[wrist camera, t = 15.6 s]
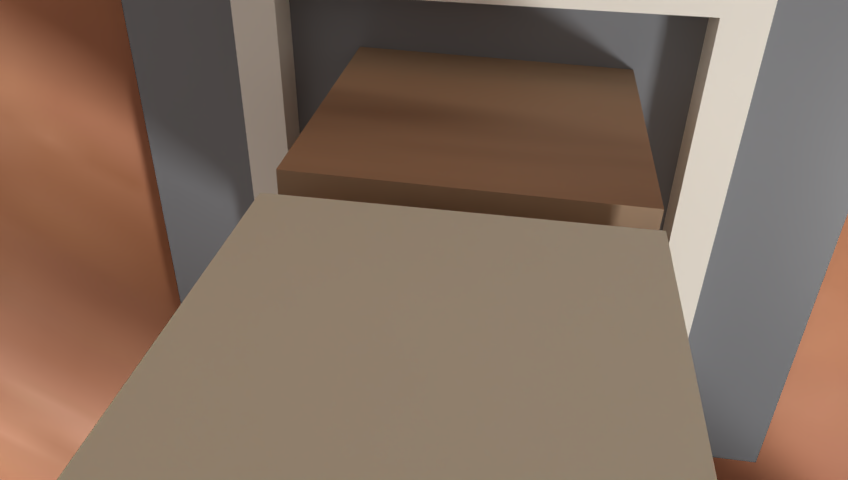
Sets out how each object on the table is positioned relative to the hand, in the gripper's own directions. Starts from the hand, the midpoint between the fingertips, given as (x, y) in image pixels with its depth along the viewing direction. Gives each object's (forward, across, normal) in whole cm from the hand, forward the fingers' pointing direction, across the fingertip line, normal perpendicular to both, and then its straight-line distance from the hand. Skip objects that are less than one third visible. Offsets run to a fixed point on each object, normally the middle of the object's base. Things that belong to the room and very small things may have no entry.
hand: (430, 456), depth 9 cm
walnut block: (+7, 0, 0) cm, 7 cm away
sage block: (+2, 0, 0) cm, 2 cm away
